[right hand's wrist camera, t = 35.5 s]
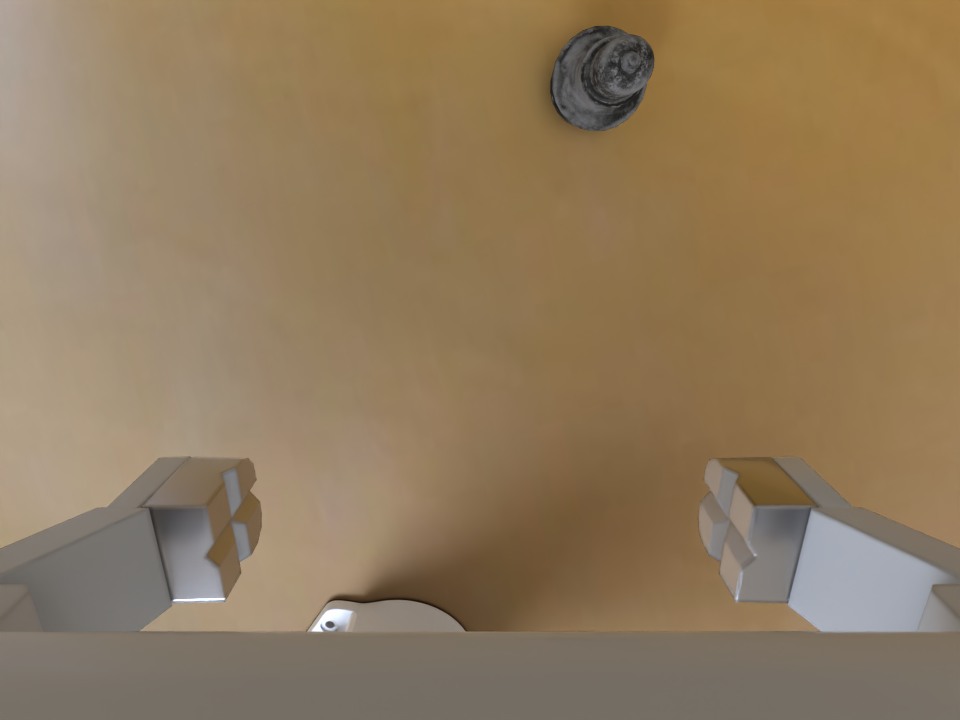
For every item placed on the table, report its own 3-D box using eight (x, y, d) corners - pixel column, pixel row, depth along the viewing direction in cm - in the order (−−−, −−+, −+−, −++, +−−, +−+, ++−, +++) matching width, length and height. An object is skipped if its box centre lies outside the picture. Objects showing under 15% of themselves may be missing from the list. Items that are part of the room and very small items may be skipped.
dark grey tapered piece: (540, 45, 38) (567, 1, 26) (630, 28, 37) (695, -23, 26) (551, 139, 40) (579, 135, 28) (635, 124, 39) (698, 115, 28)
